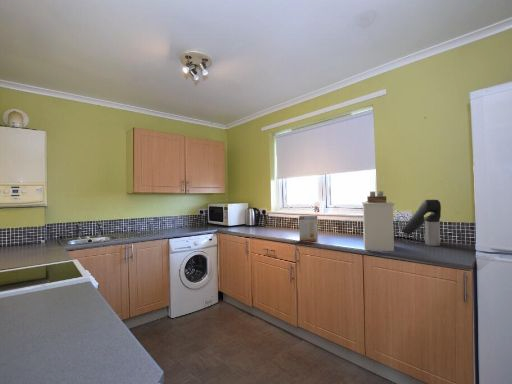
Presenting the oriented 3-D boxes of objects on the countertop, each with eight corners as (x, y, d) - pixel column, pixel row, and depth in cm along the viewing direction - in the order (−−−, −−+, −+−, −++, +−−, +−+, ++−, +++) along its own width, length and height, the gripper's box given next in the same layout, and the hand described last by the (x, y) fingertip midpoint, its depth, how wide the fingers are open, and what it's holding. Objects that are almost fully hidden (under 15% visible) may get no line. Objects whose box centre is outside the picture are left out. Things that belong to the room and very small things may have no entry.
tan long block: (365, 201, 230) (365, 191, 230) (381, 201, 226) (381, 191, 226) (368, 202, 198) (367, 191, 198) (386, 202, 194) (386, 191, 194)
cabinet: (362, 243, 212) (362, 202, 212) (390, 244, 206) (389, 201, 206) (364, 249, 189) (363, 203, 189) (394, 251, 183) (394, 203, 183)
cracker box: (318, 240, 227) (317, 215, 227) (315, 241, 222) (315, 216, 222) (302, 239, 235) (301, 214, 235) (299, 240, 230) (298, 215, 230)
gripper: (381, 213, 240) (382, 205, 227) (363, 213, 245) (364, 205, 232) (380, 206, 244) (382, 197, 231) (363, 206, 249) (363, 197, 235)
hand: (373, 201), depth 231 cm, fingers open, 8 cm apart
